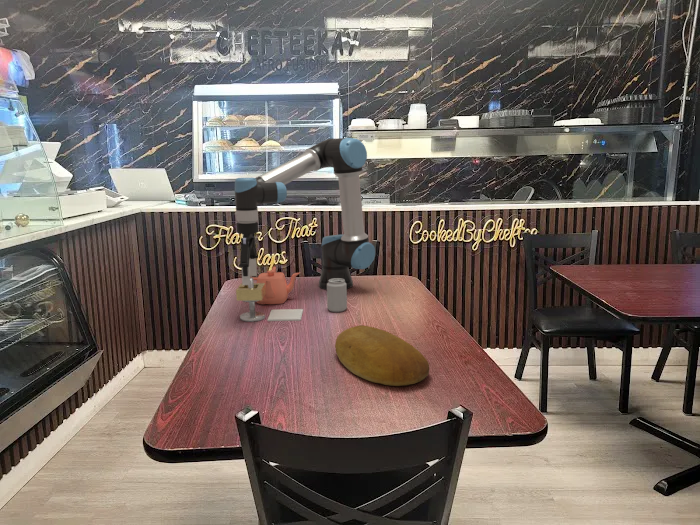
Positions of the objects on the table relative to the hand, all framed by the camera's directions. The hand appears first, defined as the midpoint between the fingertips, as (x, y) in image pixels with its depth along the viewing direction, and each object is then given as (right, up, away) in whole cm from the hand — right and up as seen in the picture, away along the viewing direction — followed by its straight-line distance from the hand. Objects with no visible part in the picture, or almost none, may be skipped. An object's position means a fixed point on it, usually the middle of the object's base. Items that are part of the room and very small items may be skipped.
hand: (249, 280), depth 190 cm
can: (+31, -12, +11) cm, 35 cm away
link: (0, -6, +2) cm, 6 cm away
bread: (+44, -23, -41) cm, 64 cm away
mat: (+12, -13, +5) cm, 19 cm away
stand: (0, -14, +3) cm, 14 cm away
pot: (+5, -9, +26) cm, 28 cm away
